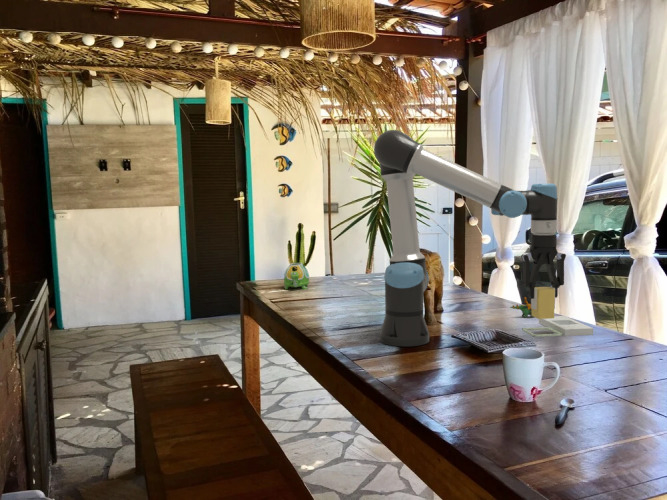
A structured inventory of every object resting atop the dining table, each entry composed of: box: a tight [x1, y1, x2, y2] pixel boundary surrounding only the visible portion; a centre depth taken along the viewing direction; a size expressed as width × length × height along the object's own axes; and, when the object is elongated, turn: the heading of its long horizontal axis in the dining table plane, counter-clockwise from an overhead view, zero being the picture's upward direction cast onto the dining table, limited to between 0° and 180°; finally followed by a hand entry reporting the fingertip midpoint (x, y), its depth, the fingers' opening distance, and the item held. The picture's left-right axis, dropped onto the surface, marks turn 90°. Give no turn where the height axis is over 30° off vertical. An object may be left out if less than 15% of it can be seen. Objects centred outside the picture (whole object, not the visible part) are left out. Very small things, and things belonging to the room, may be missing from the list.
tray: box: [521, 326, 564, 338], centre depth 182 cm, size 9×9×2 cm
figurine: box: [509, 296, 535, 319], centre depth 203 cm, size 3×12×8 cm, turn 95°
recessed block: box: [538, 315, 594, 337], centre depth 186 cm, size 9×18×3 cm, turn 5°
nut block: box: [532, 286, 556, 320], centre depth 180 cm, size 5×5×9 cm
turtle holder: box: [283, 262, 310, 290], centre depth 278 cm, size 12×18×12 cm
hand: (542, 308), depth 181 cm, fingers closed on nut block, 5 cm apart
